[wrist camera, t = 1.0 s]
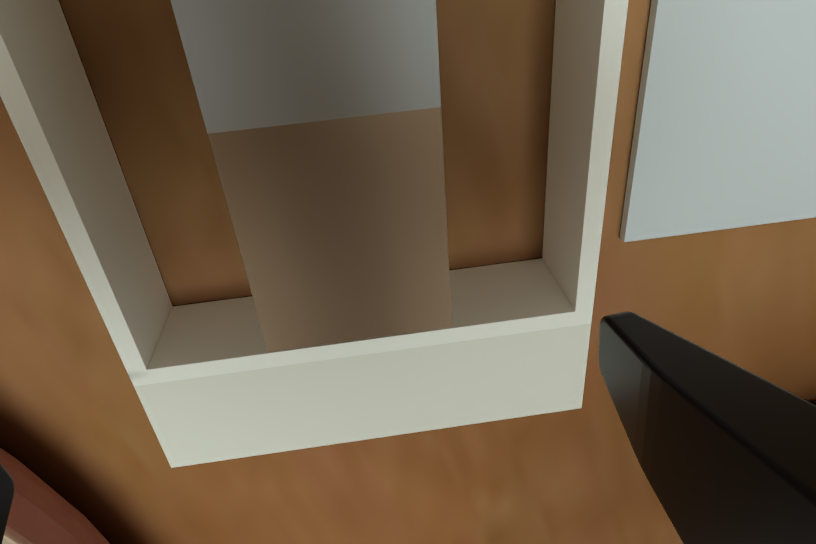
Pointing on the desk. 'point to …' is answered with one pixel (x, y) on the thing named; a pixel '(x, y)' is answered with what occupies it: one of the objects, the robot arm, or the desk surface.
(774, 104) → the mat
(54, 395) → the desk surface
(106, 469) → the desk surface
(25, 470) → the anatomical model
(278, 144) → the box
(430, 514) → the desk surface
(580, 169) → the white shallow rectangular tray
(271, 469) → the desk surface
